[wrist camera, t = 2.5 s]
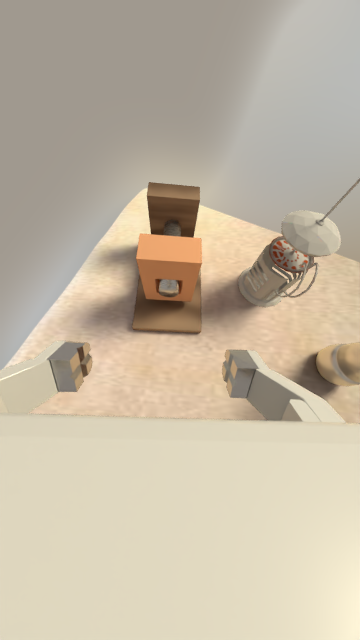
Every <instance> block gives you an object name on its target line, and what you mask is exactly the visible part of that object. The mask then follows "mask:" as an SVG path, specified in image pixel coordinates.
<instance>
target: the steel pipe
mask: <svg viewBox="0 0 360 640" xmlns="http://www.w3.org/2000/svg"><path fill="white" fill-rule="evenodd" d="M164 235H165V236H178V237H181V225H180V223H179V222H178V221H177V220H173V219H171V220H168V221H166V222H165V224H164ZM178 291H179V280H167V279H160V282H159V294H160V295H161V296H164V297H175V296H177V295H178Z"/></svg>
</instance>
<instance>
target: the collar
mask: <svg viewBox="0 0 360 640" xmlns="http://www.w3.org/2000/svg"><path fill="white" fill-rule="evenodd" d="M136 260H137V264H138V268H139V272H140V276H141V280H142V285H143V289H144V293H145V297H146V299H154V300H171V301H188V302H191V300H192V297H193V293H194V289H195V286H196V282H197V279H198V275H199V271H200V268H201V264H202V246H201V238H191V237H178V236H165V235H152V234H140V236H139V243H138V250H137V256H136ZM160 279H167V280H179V291H178V295H177V296H175V297H164V296H161V295H160V294H159V282H160Z"/></svg>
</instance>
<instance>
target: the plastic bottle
mask: <svg viewBox="0 0 360 640" xmlns="http://www.w3.org/2000/svg"><path fill="white" fill-rule="evenodd" d="M316 366H317V369H318V371H319V373H320V374H321V375H322V377H324V378H325V379H326V380H327V381H329V382H330V383H333V384H336V385H341V386H353V385H359V384H360V342H356V343H350V344H335V345H330V346H328V347H326V348H324V349H322V350H321V351H320V352H319V353H318V355H317V358H316Z"/></svg>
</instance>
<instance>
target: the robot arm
mask: <svg viewBox="0 0 360 640" xmlns="http://www.w3.org/2000/svg"><path fill="white" fill-rule="evenodd" d="M90 350H91V349H90V344H89V343H87V342H73V341H55V342H54V343H52V344H51V345H50V346H49V347H48V348H46V349H45V350H44V351H43V352H42V353H40V354H39V355H38V356H37V357H35V358H34V359H29V360H26V361H24V362H21V363H18V364H16V365H13V366H10V367H8V368H5V369H2V370H0V640H360V423H346V422H345V421H344V420H343V419H342V418H341V417H340V416H339V415H338V413H337V412H336V411H335V410H334V409H333V408H332V407H331V406H330V405H329V404H328V403H327V402H326V401H325V400H324V399H322V398H321V397H319V396H317V395H315V394H314V393H312V392H310V391H308V390H307V389H305V388H303V387H302V386H300V385H298V384H296V383H295V382H293V381H291V380H289V379H288V378H286V377H284V376H283V375H281V374H279V373H277V372H276V371H274V370H270V369H269V368H268V367H267V365H266V364H265V363H264V361H263V360H262V358H261V357H260V356H259V354H258V353H257V352H256V351H255V350H226V352H225V358H226V361H225V362H224V363H223V366H222V375H223V379H224V381H225V382H226V383H227V386H226V388H227V391H228V393H229V396H230V397H233V398H247V400H248V401H249V402H250V403H251V404H252V405H253V406H254V407H255V408H256V409H257V410H258V411H259V412H260V413H261V414H262V415H263V416H264V417H265V418H266V419H267V420H268V421H267V420H231V419H199V418H166V417H130V416H95V415H61V414H28V413H30V412H31V411H32V410H34V409H35V408H37V407H38V406H40V405H41V404H42V403H44V402H45V401H47V400H48V399H50V398H51V397H53V396H54V395H55V394H57V393H58V392H77V391H78V389H79V388H80V386H81V385H82V383H83V382H84V380H83V378H84V377H85V376H87V375H88V374H89V372H90V371H91V368H92V357H91V356H90V355H89V354H88V353H89V351H90Z"/></svg>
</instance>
